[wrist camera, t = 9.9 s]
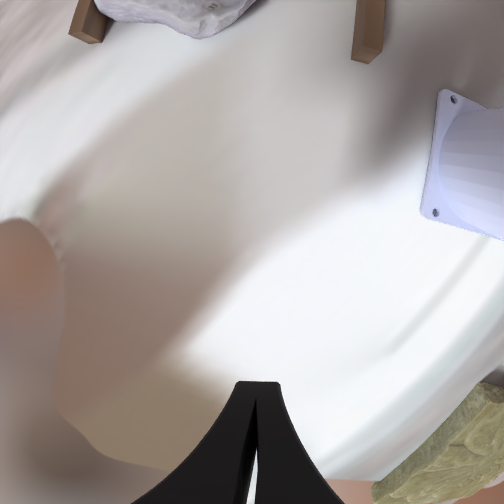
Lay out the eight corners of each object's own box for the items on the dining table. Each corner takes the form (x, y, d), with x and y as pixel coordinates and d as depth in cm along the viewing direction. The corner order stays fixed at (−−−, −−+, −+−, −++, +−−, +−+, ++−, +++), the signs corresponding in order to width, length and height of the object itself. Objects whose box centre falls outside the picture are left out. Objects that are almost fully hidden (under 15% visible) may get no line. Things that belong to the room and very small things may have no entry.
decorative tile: (465, 483, 27) (472, 500, 24) (366, 487, 26) (371, 510, 23) (552, 392, 21) (564, 407, 18) (479, 372, 20) (496, 396, 17)
